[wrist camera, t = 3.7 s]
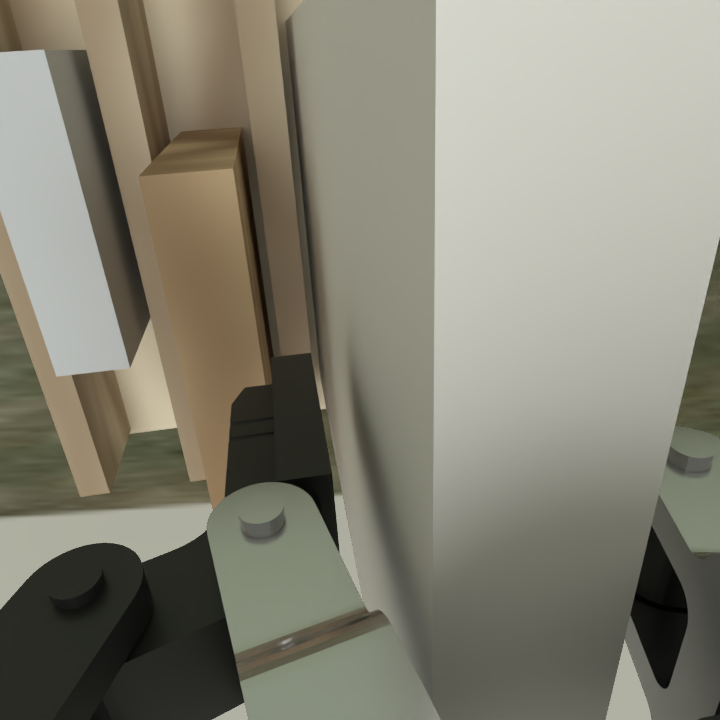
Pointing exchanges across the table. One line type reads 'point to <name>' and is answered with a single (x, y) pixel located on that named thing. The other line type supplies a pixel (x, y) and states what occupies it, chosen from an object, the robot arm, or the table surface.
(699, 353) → the table surface
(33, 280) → the offcut grey
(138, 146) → the rack
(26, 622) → the robot arm
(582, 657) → the sheet
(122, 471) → the table surface
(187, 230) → the offcut oak
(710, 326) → the table surface
